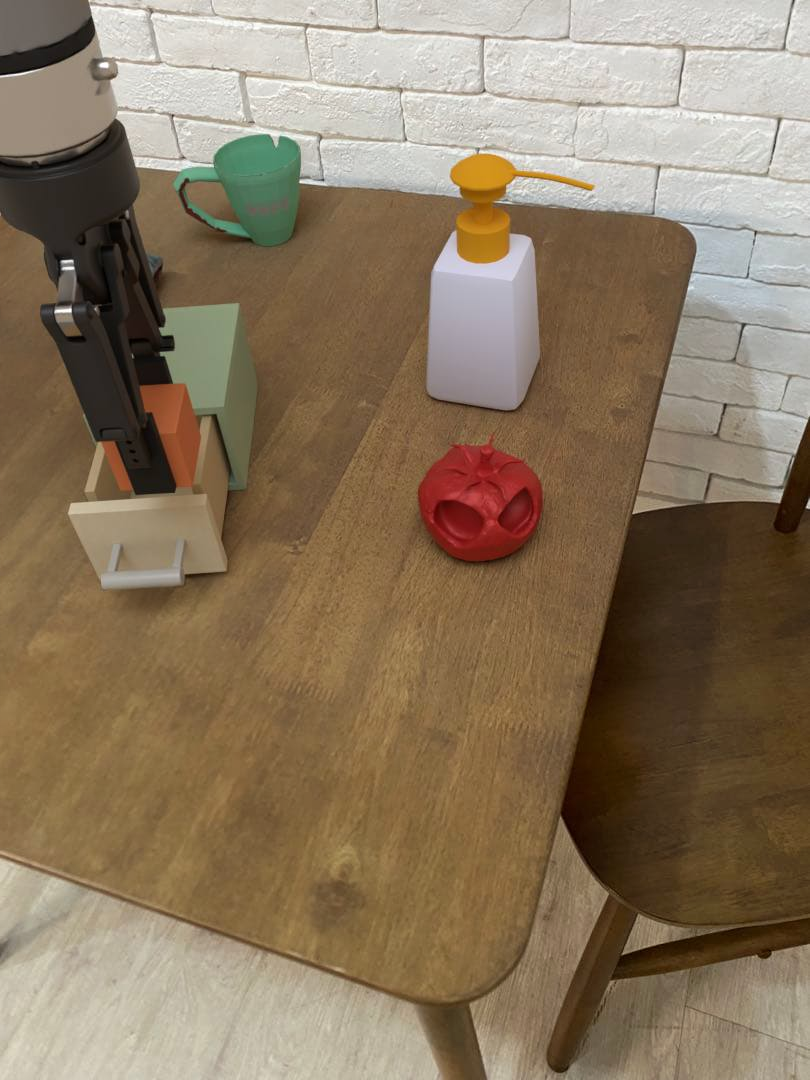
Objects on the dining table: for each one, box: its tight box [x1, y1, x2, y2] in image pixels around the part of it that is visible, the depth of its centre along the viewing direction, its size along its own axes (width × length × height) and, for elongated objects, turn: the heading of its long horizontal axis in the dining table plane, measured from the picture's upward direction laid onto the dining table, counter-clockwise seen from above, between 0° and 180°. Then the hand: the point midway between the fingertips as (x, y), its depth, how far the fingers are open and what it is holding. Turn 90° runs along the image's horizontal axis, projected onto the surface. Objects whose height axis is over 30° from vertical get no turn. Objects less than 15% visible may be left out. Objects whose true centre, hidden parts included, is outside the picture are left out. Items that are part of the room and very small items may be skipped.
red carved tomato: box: [417, 430, 544, 562], centre depth 75 cm, size 10×10×9 cm
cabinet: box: [82, 302, 259, 492], centre depth 84 cm, size 15×12×10 cm
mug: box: [172, 133, 302, 247], centre depth 108 cm, size 15×10×10 cm
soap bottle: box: [425, 153, 596, 411], centre depth 82 cm, size 10×14×22 cm
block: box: [101, 383, 201, 491], centre depth 64 cm, size 5×5×5 cm
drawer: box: [67, 414, 231, 592], centre depth 76 cm, size 18×10×8 cm, turn 2°
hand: (162, 460), depth 65 cm, fingers closed on block, 5 cm apart
